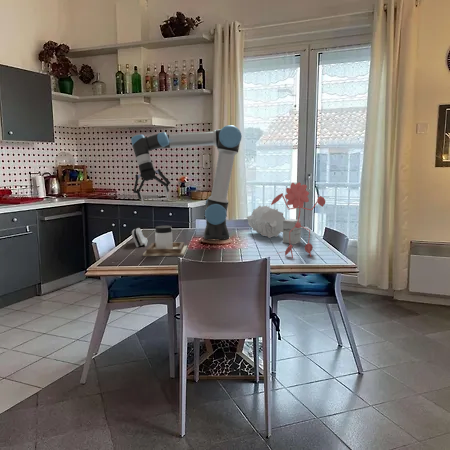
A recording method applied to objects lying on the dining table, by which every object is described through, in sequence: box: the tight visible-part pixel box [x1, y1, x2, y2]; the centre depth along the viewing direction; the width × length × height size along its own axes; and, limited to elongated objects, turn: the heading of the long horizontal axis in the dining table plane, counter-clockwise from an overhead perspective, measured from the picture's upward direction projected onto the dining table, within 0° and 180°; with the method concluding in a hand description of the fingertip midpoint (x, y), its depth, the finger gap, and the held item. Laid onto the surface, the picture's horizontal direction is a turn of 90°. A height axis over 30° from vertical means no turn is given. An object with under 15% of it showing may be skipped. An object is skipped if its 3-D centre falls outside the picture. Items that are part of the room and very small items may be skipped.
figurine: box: [270, 181, 326, 259], centre depth 209 cm, size 15×26×35 cm, turn 103°
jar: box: [154, 225, 174, 249], centre depth 221 cm, size 9×8×12 cm
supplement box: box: [282, 218, 302, 245], centre depth 239 cm, size 7×7×13 cm
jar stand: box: [142, 241, 188, 257], centre depth 223 cm, size 20×19×3 cm
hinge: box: [131, 227, 149, 248], centre depth 243 cm, size 17×5×10 cm, turn 6°
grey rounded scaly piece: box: [246, 205, 286, 239], centre depth 262 cm, size 18×18×25 cm
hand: (156, 201), depth 235 cm, fingers open, 13 cm apart
